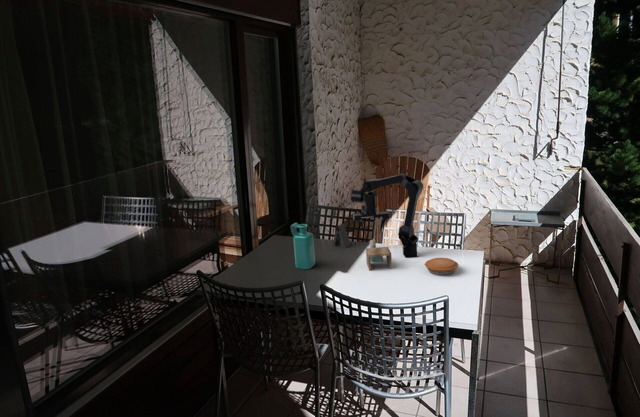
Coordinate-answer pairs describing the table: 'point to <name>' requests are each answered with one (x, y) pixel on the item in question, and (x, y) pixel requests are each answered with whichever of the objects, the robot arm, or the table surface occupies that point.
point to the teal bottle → (303, 247)
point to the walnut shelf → (378, 252)
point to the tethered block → (377, 258)
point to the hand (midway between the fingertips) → (371, 231)
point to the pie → (441, 266)
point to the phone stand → (341, 237)
